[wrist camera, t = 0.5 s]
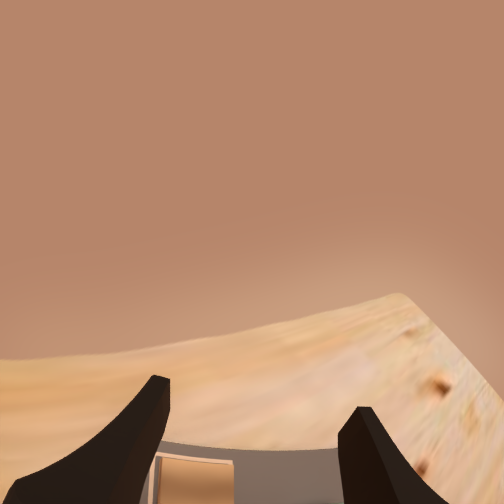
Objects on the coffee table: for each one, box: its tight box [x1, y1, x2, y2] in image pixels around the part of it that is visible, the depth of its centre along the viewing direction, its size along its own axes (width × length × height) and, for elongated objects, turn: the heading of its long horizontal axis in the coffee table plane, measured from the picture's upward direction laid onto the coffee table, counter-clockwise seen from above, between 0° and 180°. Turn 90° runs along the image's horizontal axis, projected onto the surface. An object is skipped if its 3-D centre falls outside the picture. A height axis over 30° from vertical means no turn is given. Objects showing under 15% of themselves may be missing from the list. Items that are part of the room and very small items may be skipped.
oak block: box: [157, 457, 234, 504], centre depth 19 cm, size 6×6×3 cm
